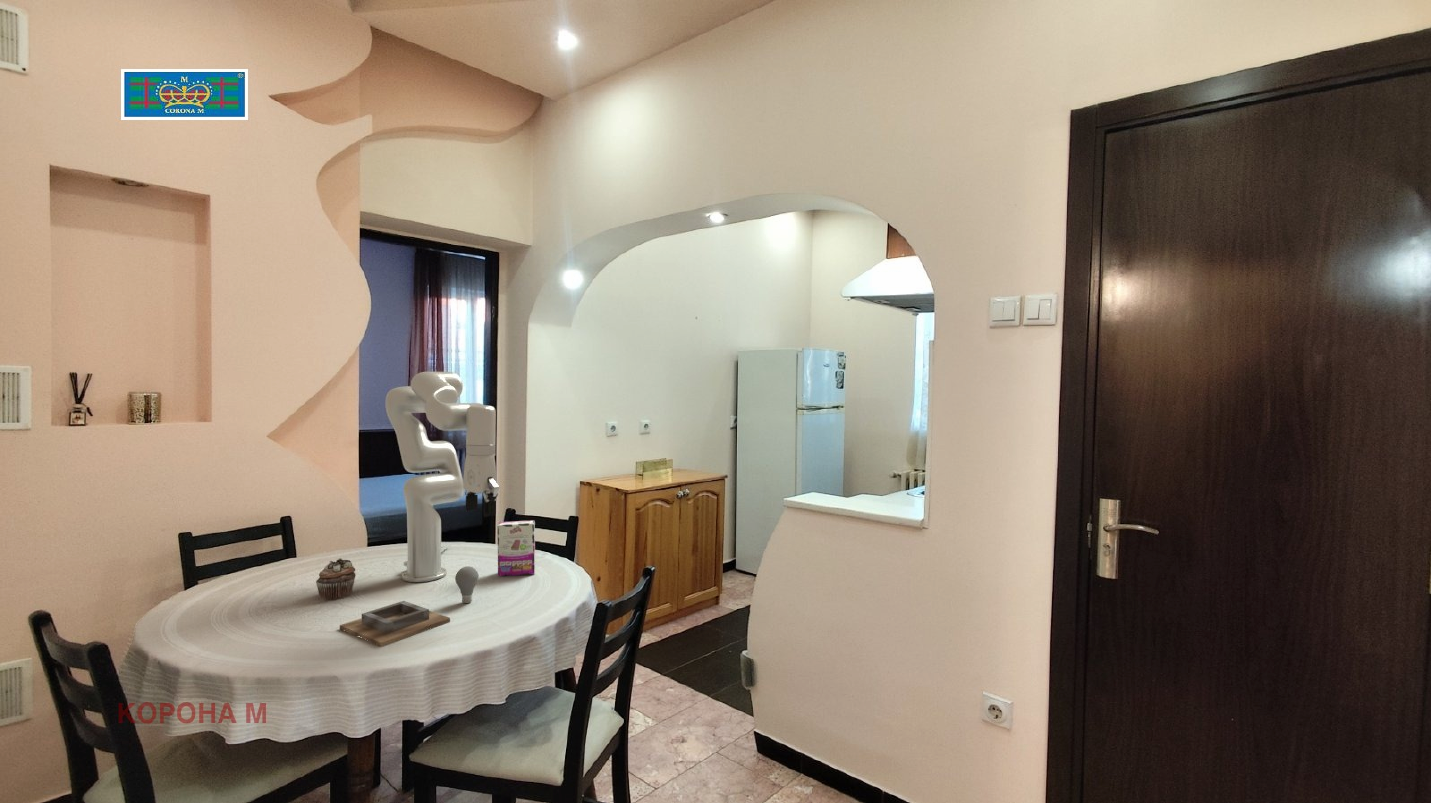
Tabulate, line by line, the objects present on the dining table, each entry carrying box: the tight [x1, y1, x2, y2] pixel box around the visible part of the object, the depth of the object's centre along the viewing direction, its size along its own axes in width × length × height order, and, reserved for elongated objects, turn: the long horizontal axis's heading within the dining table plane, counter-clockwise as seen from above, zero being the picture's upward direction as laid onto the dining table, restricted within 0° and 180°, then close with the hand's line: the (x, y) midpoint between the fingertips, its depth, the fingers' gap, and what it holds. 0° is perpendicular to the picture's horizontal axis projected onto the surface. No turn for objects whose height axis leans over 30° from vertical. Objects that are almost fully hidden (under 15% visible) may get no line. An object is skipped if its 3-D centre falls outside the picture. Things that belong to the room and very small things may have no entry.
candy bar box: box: [497, 520, 536, 577], centre depth 201 cm, size 11×5×16 cm, turn 104°
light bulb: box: [454, 565, 479, 604], centre depth 176 cm, size 6×6×10 cm
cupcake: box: [315, 558, 356, 601], centre depth 180 cm, size 10×10×10 cm
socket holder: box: [339, 600, 451, 648], centre depth 159 cm, size 18×18×4 cm
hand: (480, 512), depth 174 cm, fingers open, 9 cm apart
